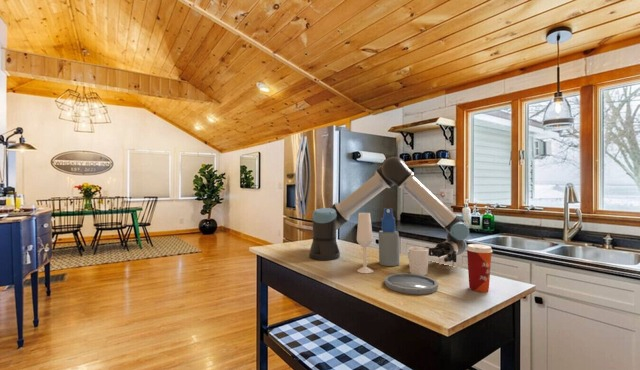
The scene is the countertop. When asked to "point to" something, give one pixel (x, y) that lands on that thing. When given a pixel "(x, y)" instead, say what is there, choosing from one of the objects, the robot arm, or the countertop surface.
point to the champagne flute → (364, 237)
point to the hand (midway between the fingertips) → (423, 258)
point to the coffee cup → (479, 266)
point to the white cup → (418, 260)
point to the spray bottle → (388, 240)
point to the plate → (411, 283)
